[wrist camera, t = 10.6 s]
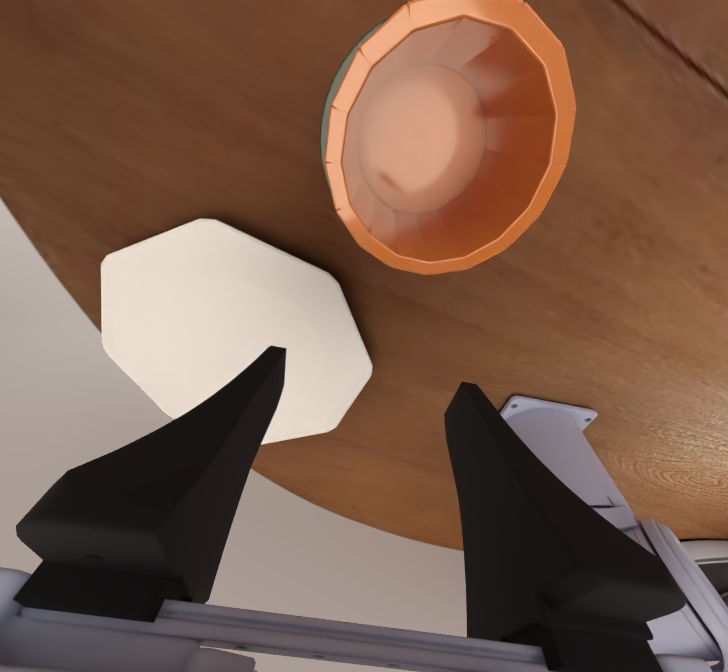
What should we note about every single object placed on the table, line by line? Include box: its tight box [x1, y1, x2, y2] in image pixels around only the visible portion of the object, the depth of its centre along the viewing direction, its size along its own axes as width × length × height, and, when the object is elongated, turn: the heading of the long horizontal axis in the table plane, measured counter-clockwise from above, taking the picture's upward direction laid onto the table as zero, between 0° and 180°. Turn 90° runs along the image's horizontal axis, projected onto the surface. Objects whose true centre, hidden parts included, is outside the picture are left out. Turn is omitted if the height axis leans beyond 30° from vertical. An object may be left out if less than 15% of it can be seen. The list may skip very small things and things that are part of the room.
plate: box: [101, 218, 373, 444], centre depth 24 cm, size 20×20×2 cm
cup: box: [324, 0, 576, 275], centre depth 9 cm, size 5×5×6 cm
